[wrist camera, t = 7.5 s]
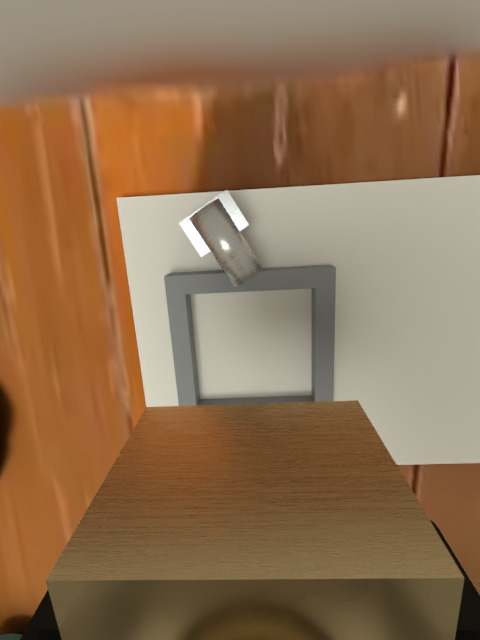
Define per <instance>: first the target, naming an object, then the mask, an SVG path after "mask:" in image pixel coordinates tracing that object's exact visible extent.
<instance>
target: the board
mask: <svg viewBox="0 0 480 640" xmlns="http://www.w3.org/2000/svg"><path fill="white" fill-rule="evenodd" d="M222 192H224V191H218V192H202V193H186V194H170V195H154V196H138V197H122V198H117V205H118V212H119V219H120V226H121V233H122V240H123V247H124V254H125V261H126V268H127V275H128V282H129V289H130V296H131V303H132V310H133V317H134V324H135V331H136V338H137V345H138V352H139V359H140V366H141V372H142V379H143V386H144V393H145V400H146V407H163V406H195V405H227V404H259V403H291V402H323V401H356V400H358V401H359V403H360V405H361V406H362V408H363V410H364V411H365V413H366V415H367V416H368V418H369V420H370V421H371V423H372V425H373V426H374V428H375V430H376V431H377V433H378V435H379V436H380V438H381V440H382V441H383V443H384V445H385V446H386V448H387V450H388V451H389V453H390V455H391V456H392V458H393V460H394V461H395V463H396V465H414V464H457V463H480V175H472V176H457V177H441V178H425V179H409V180H393V181H377V182H361V183H345V184H329V185H313V186H297V187H281V188H266V189H250V190H234V191H228V192H229V193H230V195H231V196H232V198H233V199H234V201H235V203H236V204H237V206H238V207H239V209H240V211H241V212H242V214H243V215H244V217H245V219H246V220H247V222H248V223H249V226H247V227H246V228H244V229H243V230H241V231H240V232H241V233H242V235H243V237H244V238H245V240H246V241H247V243H248V244H249V246H250V248H251V249H252V251H253V252H254V254H255V256H256V257H257V259H258V260H259V262H260V263H261V265H262V267H263V270H262V271H261V272H259V273H258V274H257V275H256V276H254V277H253V278H251V279H250V280H248V281H247V282H245V283H243V284H242V285H240V286H238V287H234V286H233V284H232V283H231V281H230V280H229V278H228V277H227V275H226V274H225V272H224V271H223V269H222V268H221V266H220V265H219V263H218V262H217V260H216V259H215V257H214V256H213V254H212V253H211V251H210V252H209V253H207V254H206V255H204V256H202V257H201V256H200V254H199V253H198V251H197V250H196V248H195V247H194V245H193V244H192V242H191V241H190V239H189V238H188V236H187V235H186V233H185V232H184V230H183V229H182V227H181V226H180V225H179V223H180V222H181V221H183V220H184V219H186V218H187V217H188V216H190V215H191V214H193V213H194V212H195V211H197V210H198V209H200V208H201V207H202V206H204V205H205V204H207V203H208V202H210V201H211V200H212V199H214V198H215V197H217V196H218V195H219V194H221V193H222Z"/></svg>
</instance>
